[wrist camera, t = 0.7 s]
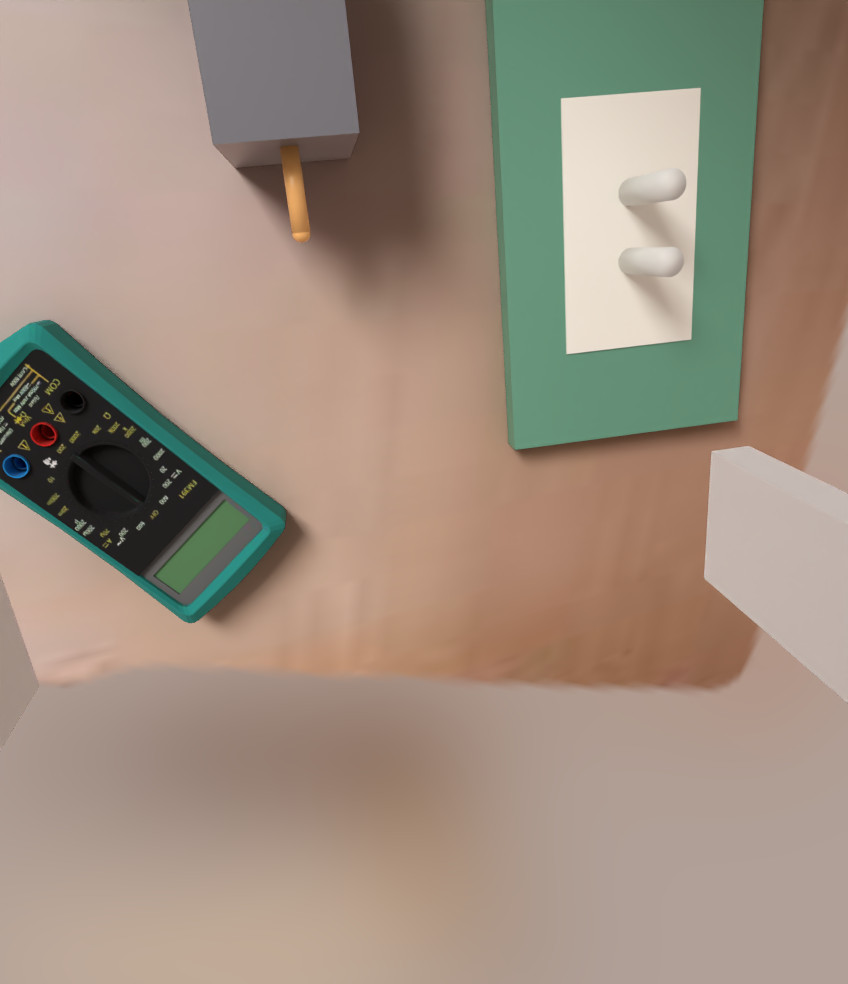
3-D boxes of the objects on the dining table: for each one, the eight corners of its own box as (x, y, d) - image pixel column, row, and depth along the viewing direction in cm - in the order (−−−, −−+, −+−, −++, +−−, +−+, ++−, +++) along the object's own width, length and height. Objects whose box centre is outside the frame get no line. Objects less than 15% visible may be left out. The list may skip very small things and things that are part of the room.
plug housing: (186, -117, 27) (146, -236, 20) (317, -122, 27) (318, -240, 21) (248, 249, 31) (231, 248, 25) (359, 238, 32) (370, 235, 25)
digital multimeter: (40, 305, 31) (13, 310, 28) (294, 510, 36) (291, 532, 33) (-58, 422, 32) (-93, 438, 29) (202, 607, 37) (192, 635, 34)
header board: (484, -11, 29) (518, -63, 24) (749, -26, 31) (831, -79, 26) (508, 443, 36) (539, 473, 31) (724, 415, 37) (786, 439, 33)
